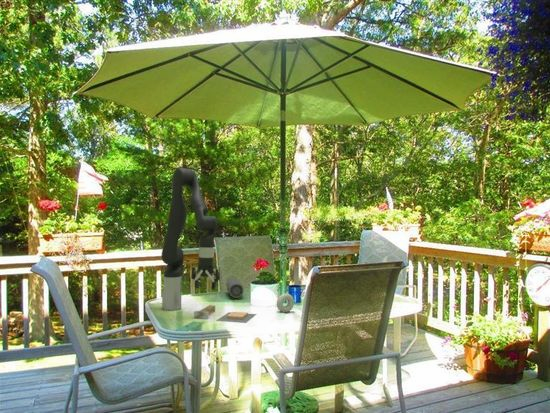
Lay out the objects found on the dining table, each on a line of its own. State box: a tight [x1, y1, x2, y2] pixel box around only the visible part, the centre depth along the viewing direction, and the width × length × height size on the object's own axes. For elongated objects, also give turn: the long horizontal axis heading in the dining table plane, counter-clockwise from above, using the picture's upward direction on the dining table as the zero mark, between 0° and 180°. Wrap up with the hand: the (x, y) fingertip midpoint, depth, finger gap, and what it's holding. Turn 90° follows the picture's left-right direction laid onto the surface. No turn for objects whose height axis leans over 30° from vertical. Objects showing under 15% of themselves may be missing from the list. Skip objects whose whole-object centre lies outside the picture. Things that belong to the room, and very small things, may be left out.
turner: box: [193, 304, 216, 320], centre depth 233 cm, size 7×16×4 cm, turn 166°
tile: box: [227, 311, 249, 320], centre depth 230 cm, size 8×1×9 cm
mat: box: [215, 311, 257, 324], centre depth 229 cm, size 15×18×1 cm
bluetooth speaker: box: [225, 277, 244, 299], centre depth 285 cm, size 23×9×10 cm, turn 10°
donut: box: [276, 292, 295, 314], centre depth 243 cm, size 10×3×10 cm, turn 119°
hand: (205, 288), depth 232 cm, fingers open, 8 cm apart
